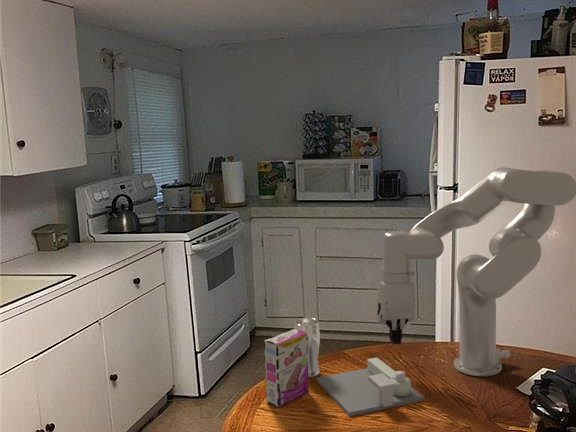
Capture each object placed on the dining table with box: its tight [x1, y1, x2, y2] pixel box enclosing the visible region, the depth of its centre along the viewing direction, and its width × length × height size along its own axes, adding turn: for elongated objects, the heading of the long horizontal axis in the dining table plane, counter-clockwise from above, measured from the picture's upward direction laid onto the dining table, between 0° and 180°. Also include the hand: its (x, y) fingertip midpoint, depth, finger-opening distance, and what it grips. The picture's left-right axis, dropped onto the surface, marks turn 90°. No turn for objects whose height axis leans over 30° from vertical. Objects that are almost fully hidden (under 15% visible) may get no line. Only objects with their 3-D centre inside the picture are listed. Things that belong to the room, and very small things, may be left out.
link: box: [366, 357, 412, 396], centre depth 146 cm, size 18×5×5 cm, turn 18°
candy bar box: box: [264, 328, 310, 408], centre depth 142 cm, size 11×5×16 cm, turn 136°
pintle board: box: [316, 368, 424, 417], centre depth 144 cm, size 20×22×6 cm
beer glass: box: [294, 317, 321, 378], centre depth 156 cm, size 7×7×15 cm
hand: (395, 342), depth 154 cm, fingers closed
